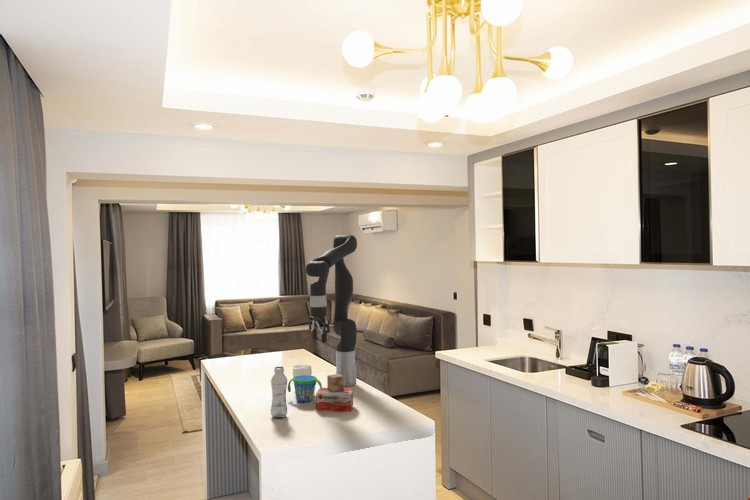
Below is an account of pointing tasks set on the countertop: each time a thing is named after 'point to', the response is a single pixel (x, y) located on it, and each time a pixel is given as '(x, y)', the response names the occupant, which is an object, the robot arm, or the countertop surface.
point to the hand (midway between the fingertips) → (319, 341)
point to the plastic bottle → (279, 393)
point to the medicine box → (334, 400)
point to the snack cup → (304, 387)
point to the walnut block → (335, 382)
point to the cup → (301, 370)
